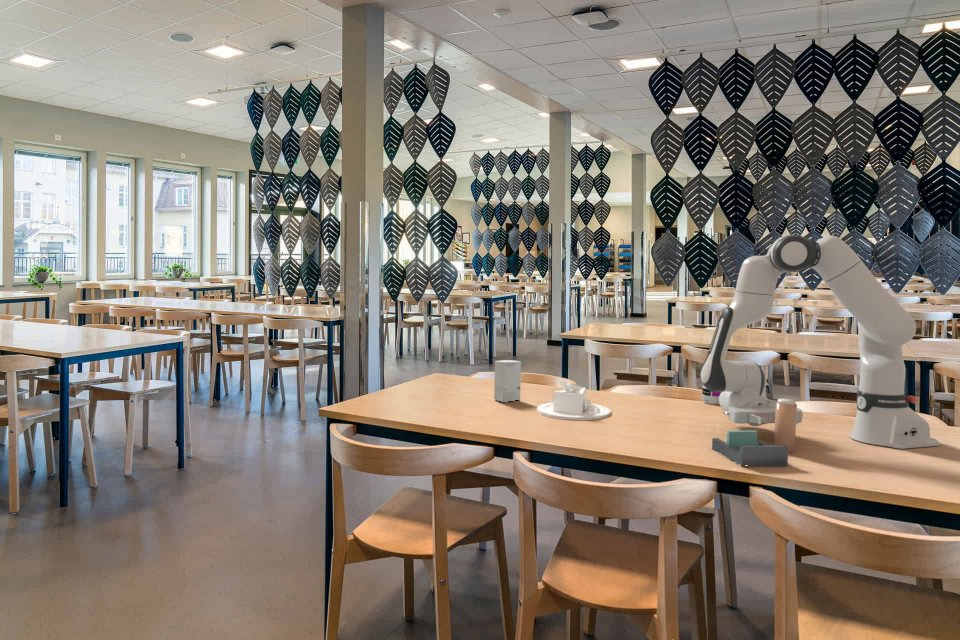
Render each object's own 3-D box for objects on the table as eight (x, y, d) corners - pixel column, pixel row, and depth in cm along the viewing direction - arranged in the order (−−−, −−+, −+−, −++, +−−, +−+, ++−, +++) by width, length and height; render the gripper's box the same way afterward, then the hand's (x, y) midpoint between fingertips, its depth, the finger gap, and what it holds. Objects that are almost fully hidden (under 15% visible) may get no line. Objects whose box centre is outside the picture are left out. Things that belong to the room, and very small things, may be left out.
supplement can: (727, 402, 244) (729, 362, 243) (722, 405, 238) (724, 364, 236) (705, 399, 249) (706, 360, 248) (699, 403, 242) (701, 362, 241)
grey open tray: (753, 448, 181) (754, 430, 181) (787, 466, 165) (788, 446, 164) (712, 448, 180) (712, 430, 179) (741, 466, 163) (742, 447, 163)
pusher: (754, 451, 177) (754, 430, 176) (761, 455, 173) (762, 433, 173) (726, 452, 176) (727, 430, 176) (732, 455, 172) (733, 434, 172)
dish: (591, 424, 208) (592, 389, 207) (523, 414, 222) (523, 381, 221) (622, 411, 228) (622, 379, 227) (557, 402, 242) (558, 372, 241)
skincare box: (503, 403, 238) (503, 362, 237) (493, 400, 243) (493, 360, 242) (521, 400, 243) (521, 360, 242) (511, 398, 248) (511, 358, 246)
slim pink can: (787, 448, 182) (790, 398, 180) (798, 453, 176) (801, 401, 175) (769, 448, 181) (772, 398, 180) (780, 453, 176) (782, 402, 175)
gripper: (720, 400, 194) (743, 410, 180) (786, 399, 196) (814, 409, 182) (719, 421, 194) (742, 433, 180) (785, 420, 196) (813, 431, 182)
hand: (779, 421), depth 181 cm, fingers open, 8 cm apart
